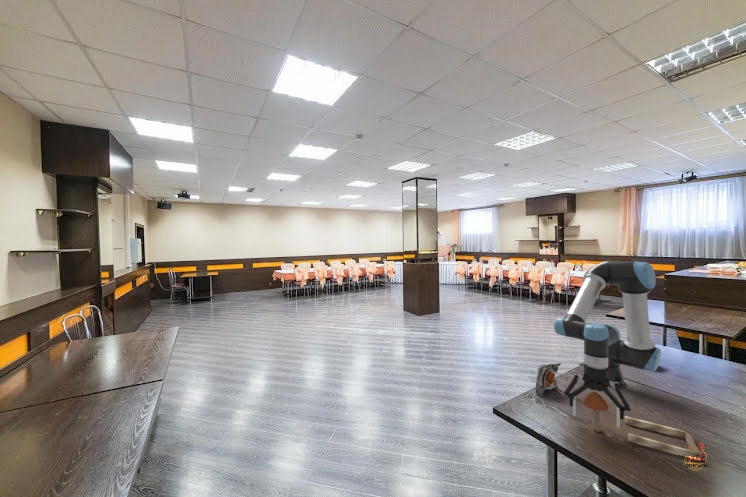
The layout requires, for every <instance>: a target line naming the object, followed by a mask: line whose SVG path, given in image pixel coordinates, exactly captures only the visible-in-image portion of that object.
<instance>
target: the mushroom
mask: <svg viewBox="0 0 746 497" xmlns="http://www.w3.org/2000/svg"><path fill="white" fill-rule="evenodd" d="M582 403H583V405H584V406H585V407H587V408H589V409H591V410H592V427H591V428H592V430H593V432H596V433H600V432H601V431H602V427H601V421H600V411H601V412H605V411H608V410H609V408H610V407H609V405H608V403H607V402H606V399H605V398H604V397H603V396H601V394H599V393H598V392H597V391H593V392H590V393H588V394H587V395H586V396H585V398H584V399H583V401H582Z"/></svg>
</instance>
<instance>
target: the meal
mask: <svg viewBox="0 0 746 497" xmlns="http://www.w3.org/2000/svg"><path fill="white" fill-rule="evenodd" d="M561 364H562V363H546V364H542V365H539V367H538V368H537V375H536V378H535V379H536V381H535V394H536V393H537V394H539V395H540V397H541V396H542V397H541V398H543V397H544V393H543V391H544V389H546V390H553V389H559V386H558V384H557V379H556V373H558V371H559V367H560V366H561ZM538 386H539V387H538ZM544 392H545V391H544ZM542 393H543V394H542ZM537 394H536V395H537ZM539 395H538V396H539Z"/></svg>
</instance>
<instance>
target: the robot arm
mask: <svg viewBox="0 0 746 497" xmlns="http://www.w3.org/2000/svg"><path fill="white" fill-rule="evenodd" d="M656 276H657V275H656V273H655V269H654V266H652V265H651V264H650V263H649V262H643V261H626V260H625V261H622V260H605V261H602V262H599V263H597V264H595V265H593V266H592V267H591V268H589V269H588V270H587V271H586V272H585V273H584V275H583V277H582V284H581V286H580V287H579V290H578V292H577V293H576V296H575V298H574V299H573V302H572V303H571V305H570V307H569V309H568V311H567V313H566V315H564V317H557V318H555V321H554V324H553V328H554V329H553V330H554V333H556V335H559V336H563V337H565V338H567V337H568V338H571V339H576V340H581V341H583V374H582V375H580V374H578V373H577V372H576V373H574V376H573V379H571V382H570V383H569V384H568V385H567V387H566V389H565V390H564V393H563V394H564V396H566V397H568V398H569V407H572V417H576V410H577V409H576V401H577V400H576V398H577V396H578V395H580V394H581V393H582V392H584V391H586V390H588V389H590V390H591V391H596V392H599V393H601V392H604V394H605V395H607V397H608V398H609V399H610V400H611V401H612V402H613V404H614V405H615V406H616V428H617V429H621V420H625V411H627V412H630V411H631V407H630V404H629V402H628V401H627V400H626V398H625V395H624V394H623V392H622V391H621V389H620V387H622V386H624V385H625V377H624V376H623V371H622V370H621V365H623V366H626V367H630V368H631V367H632V368H635V369H639V370H642V371H646V372H651V373H654V372H655V371H657V369H658V367H659V364H660V361H661V357H662V356H661V355H662V351H661V348H659V347H656V343H655V342H654V341H653V340H652V339H651V329H650V316H649V304H648V294H649V293H650V292H652V289H654V288H656V284H657V281H656ZM606 286H616V287H617V290H618V292H620V293H621V294H622V300H623V312H624V320H625V321H624V323H625V332H626V333H625V334H626V337H624V338H623V340H621V333H620V330H619V329H618V328H617V326H614V325H612V324H597V323H591V322H590V323H589V322H586V321H587V320H588V318H589V315H590V314H591V311H592V309H593V307H594V305H595V303H596V302H597V300H598V297H599V295H600V293H601V291H602V290H604V289H605V288H606ZM580 380H582V381H583V382H582V383H583V384H581V385H580V386H578V387H577V388H576V389H574V387H575V386H576V384H577V383H578V381H580ZM608 387H612V388H613V389H614V390H615V392H616V394H617V395H618V397H619V399H620V400H621V402H620V401H619V400H618V398H617V397H616V396H615V395H614V394H613V393H612V391H610V389H609V388H608ZM573 389H574V390H573ZM572 390H573V391H572Z"/></svg>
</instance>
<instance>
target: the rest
mask: <svg viewBox="0 0 746 497" xmlns="http://www.w3.org/2000/svg"><path fill="white" fill-rule="evenodd" d="M624 424H625V425H630V426H633V427H638V428H641V429H643V430H644V429H645V430H649V431H653V432H656V433H659V434H660V433H661V434H665V435H668V436H673V437H675V438H676V437H677V438H680V439H683V440H685V441H686V444H687V446H688V447H690V448H689V449H687V448H684V447H681V446H678V445H677V446H676V445H673V444H669V443H665V442H661V441H660V440H659V441H658V440H654V439H652V438H648V437H644V436H641V435H640V436H639V435H638V434H633V433H629V432H628V438H627V439H628V442H629V443H633V444H637V445H640V446H644V447H647V448H651V449H655V450H658V451H660V452H661V451H662V452H665V453H669V454H672V455H676V456H679V455H680V456H679V457H682V456H691V457H698V458H701V459H702V454H701V452H700V450H699V448H698V446H697V444H696V443H695V441H694V439H693V437H692V435H691V433H690V431H687V430H684V429H683V430H682V429H678V428H675V427H670V426H667V425H664V424H658V423H655V422H651V421H646V420H643V419H639V418H636V417H630V416H627V415H624ZM690 449H691V450H690Z"/></svg>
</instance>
